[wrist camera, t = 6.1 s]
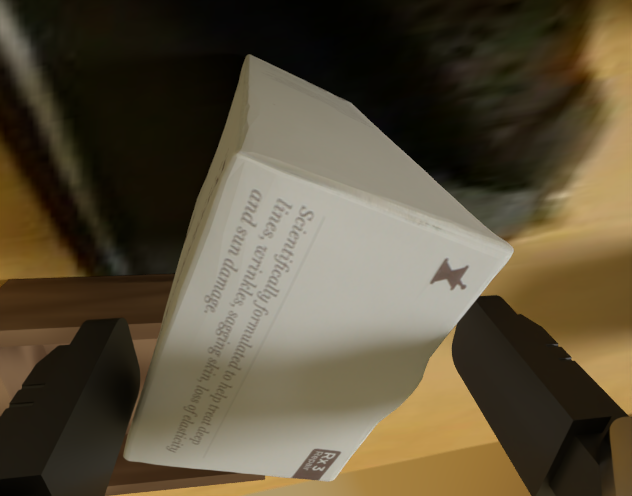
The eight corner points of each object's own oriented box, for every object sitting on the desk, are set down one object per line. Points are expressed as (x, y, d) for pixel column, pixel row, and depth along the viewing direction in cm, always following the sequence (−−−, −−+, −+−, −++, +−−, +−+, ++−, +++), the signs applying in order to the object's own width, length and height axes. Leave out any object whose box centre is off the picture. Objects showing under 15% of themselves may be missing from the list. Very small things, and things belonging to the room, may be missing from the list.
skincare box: (246, 51, 18) (216, 102, 5) (359, 105, 20) (543, 241, 7) (194, 207, 21) (97, 473, 9) (295, 241, 23) (341, 503, 10)
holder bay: (8, 279, 22) (-46, 333, 18) (258, 271, 24) (258, 318, 20) (72, 438, 29) (43, 502, 25) (264, 422, 31) (264, 479, 27)
